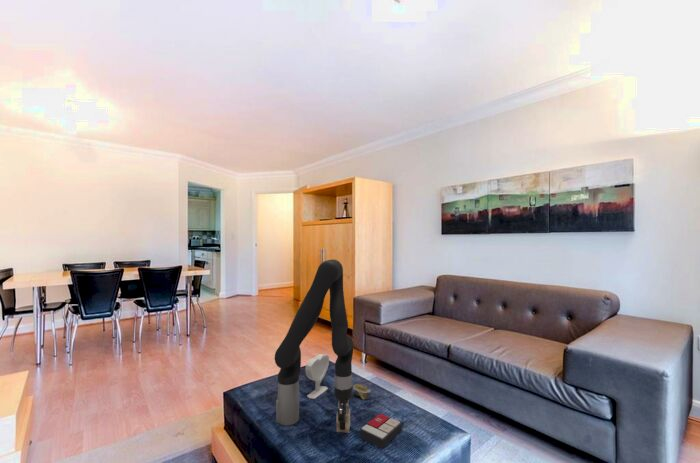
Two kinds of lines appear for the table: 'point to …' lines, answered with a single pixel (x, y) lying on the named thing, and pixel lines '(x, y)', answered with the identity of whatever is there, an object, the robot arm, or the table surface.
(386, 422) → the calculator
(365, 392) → the olive plastic tub
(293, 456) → the table surface
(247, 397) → the table surface
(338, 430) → the maple block
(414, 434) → the table surface
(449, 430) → the table surface
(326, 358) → the heart sculpture
